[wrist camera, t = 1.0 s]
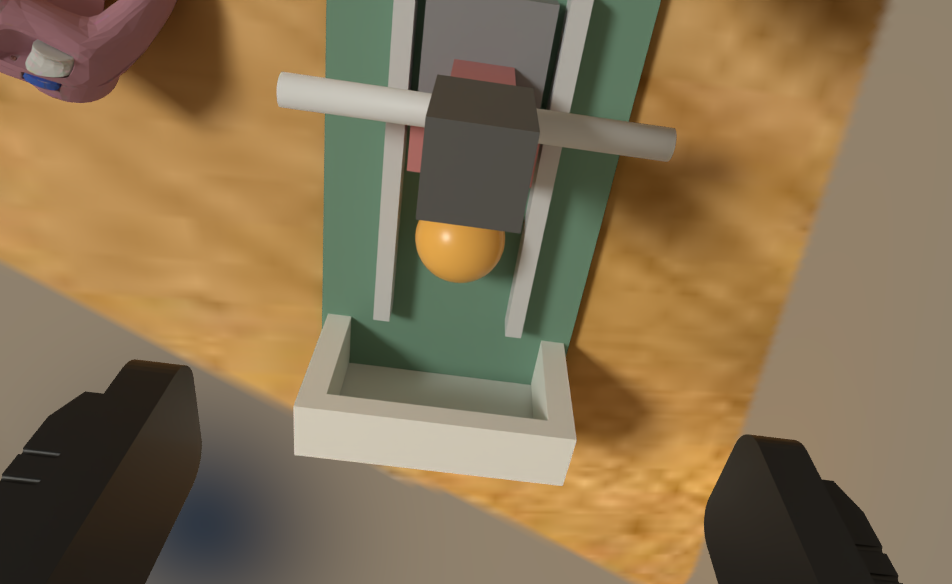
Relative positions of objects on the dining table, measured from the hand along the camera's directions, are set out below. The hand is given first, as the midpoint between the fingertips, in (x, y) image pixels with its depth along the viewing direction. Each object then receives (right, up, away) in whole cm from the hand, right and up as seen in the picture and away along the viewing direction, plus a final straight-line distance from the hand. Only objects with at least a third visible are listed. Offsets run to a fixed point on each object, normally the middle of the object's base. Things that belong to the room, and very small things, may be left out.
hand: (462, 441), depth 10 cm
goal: (-2, -1, +26) cm, 26 cm away
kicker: (+1, +12, +18) cm, 22 cm away
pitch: (0, +6, +22) cm, 23 cm away
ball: (0, +5, +20) cm, 21 cm away
